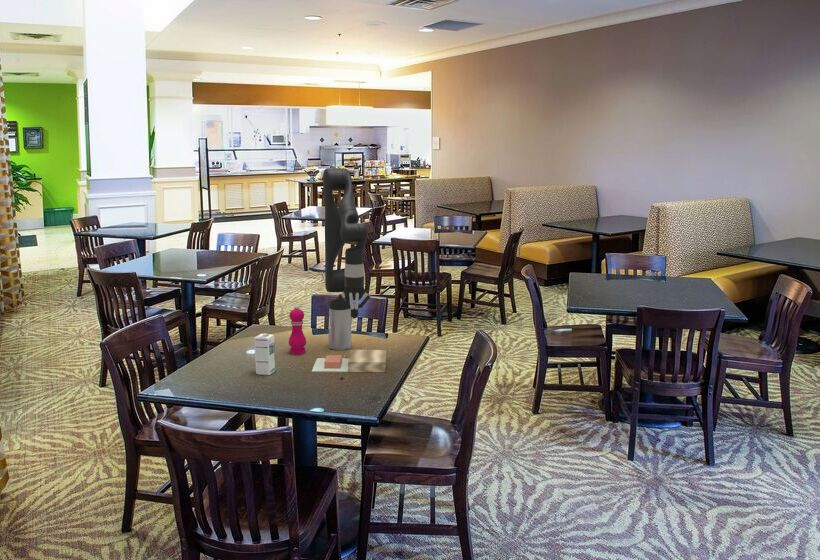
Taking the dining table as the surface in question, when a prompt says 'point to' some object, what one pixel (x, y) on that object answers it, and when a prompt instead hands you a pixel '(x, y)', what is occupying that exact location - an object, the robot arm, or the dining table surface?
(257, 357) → the syrup box
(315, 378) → the dining table surface
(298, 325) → the pepper mill
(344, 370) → the mat
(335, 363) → the tile
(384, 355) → the board
